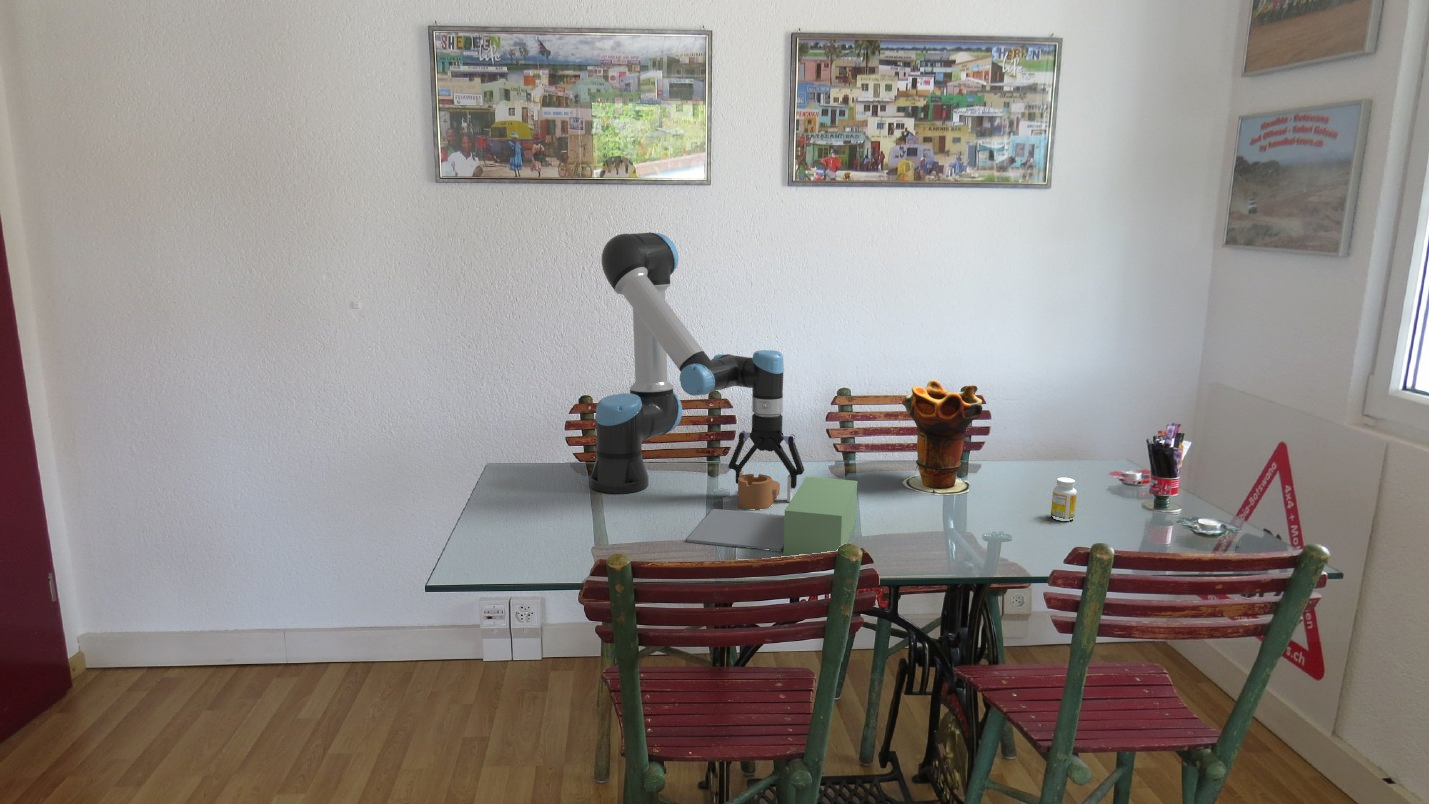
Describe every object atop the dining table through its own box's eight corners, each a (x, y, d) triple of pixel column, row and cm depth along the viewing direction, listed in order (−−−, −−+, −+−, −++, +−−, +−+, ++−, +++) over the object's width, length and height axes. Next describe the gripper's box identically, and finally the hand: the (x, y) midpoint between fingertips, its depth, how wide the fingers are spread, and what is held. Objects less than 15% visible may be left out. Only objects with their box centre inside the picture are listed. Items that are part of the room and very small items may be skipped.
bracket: (767, 512, 232) (768, 484, 230) (734, 509, 234) (734, 481, 232) (782, 491, 249) (782, 465, 247) (751, 488, 251) (751, 462, 249)
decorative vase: (981, 474, 263) (987, 375, 255) (974, 503, 242) (981, 396, 234) (904, 467, 269) (908, 370, 262) (891, 495, 248) (895, 390, 241)
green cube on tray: (684, 544, 209) (684, 500, 207) (715, 508, 233) (715, 468, 231) (840, 561, 200) (841, 515, 198) (855, 522, 225) (857, 480, 223)
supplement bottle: (1054, 522, 226) (1058, 482, 224) (1047, 514, 231) (1050, 476, 229) (1077, 522, 226) (1081, 483, 224) (1069, 514, 231) (1073, 476, 229)
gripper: (716, 413, 236) (715, 498, 241) (812, 420, 230) (810, 507, 234) (724, 407, 243) (723, 489, 248) (817, 413, 237) (815, 498, 242)
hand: (765, 498), depth 241 cm, fingers open, 11 cm apart
